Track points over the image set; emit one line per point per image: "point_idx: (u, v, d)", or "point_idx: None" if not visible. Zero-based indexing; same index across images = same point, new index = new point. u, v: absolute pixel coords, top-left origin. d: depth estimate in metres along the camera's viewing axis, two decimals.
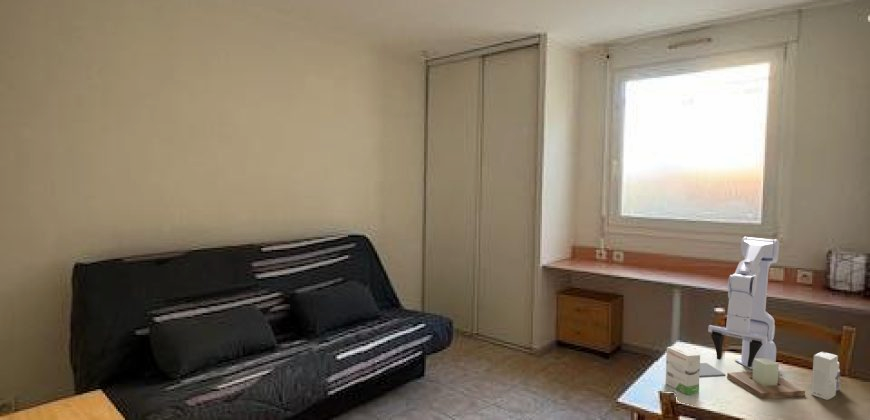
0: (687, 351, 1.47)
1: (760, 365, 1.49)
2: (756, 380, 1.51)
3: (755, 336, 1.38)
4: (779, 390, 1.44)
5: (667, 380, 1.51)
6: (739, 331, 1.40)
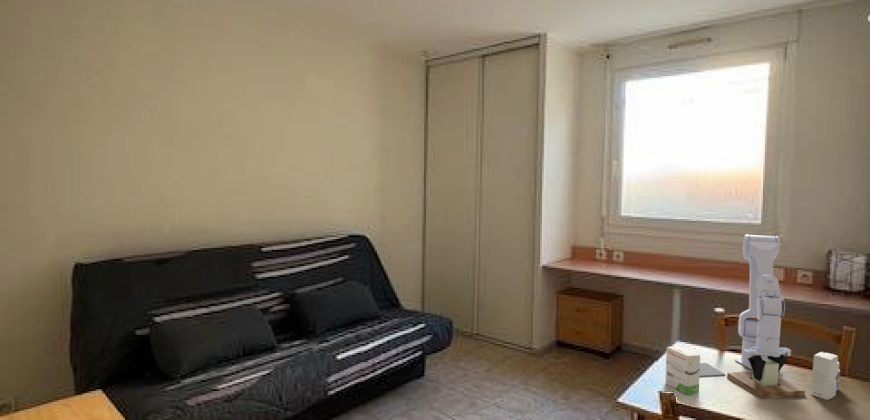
0: (687, 351, 1.47)
1: None
2: (756, 380, 1.51)
3: (785, 351, 1.49)
4: (779, 390, 1.44)
5: (667, 380, 1.51)
6: (777, 351, 1.47)
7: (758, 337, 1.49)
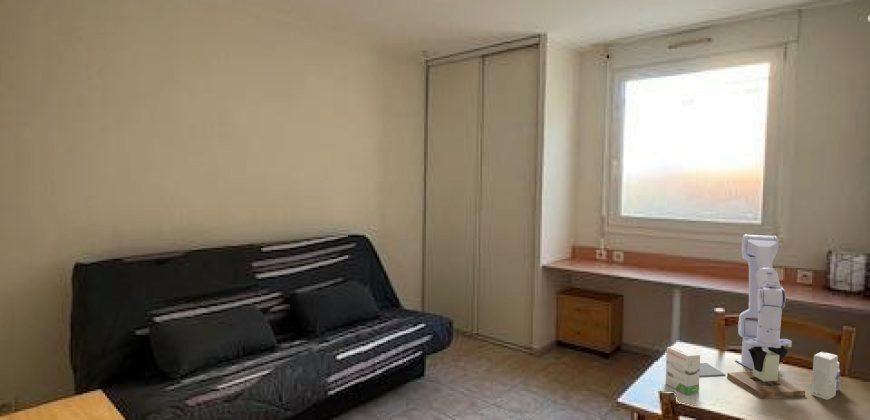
0: (687, 351, 1.47)
1: None
2: (757, 371, 1.51)
3: (785, 343, 1.48)
4: (779, 390, 1.44)
5: (667, 380, 1.51)
6: (777, 343, 1.47)
7: (759, 328, 1.49)
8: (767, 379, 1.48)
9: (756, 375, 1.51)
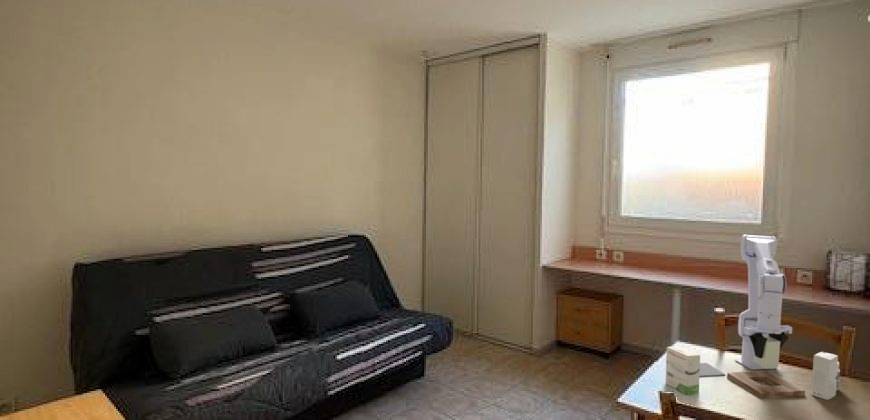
0: (687, 351, 1.47)
1: None
2: (757, 358, 1.50)
3: (786, 329, 1.48)
4: (779, 390, 1.44)
5: (667, 380, 1.51)
6: (778, 329, 1.46)
7: (759, 314, 1.49)
8: (768, 365, 1.48)
9: (757, 362, 1.50)
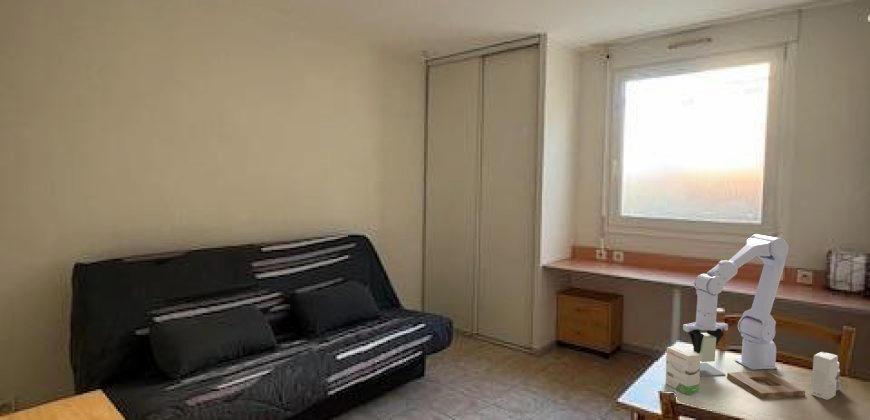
0: (687, 351, 1.47)
1: None
2: (696, 353, 1.62)
3: (722, 326, 1.60)
4: (779, 390, 1.44)
5: (667, 380, 1.51)
6: (714, 326, 1.58)
7: (697, 313, 1.60)
8: (705, 360, 1.59)
9: None
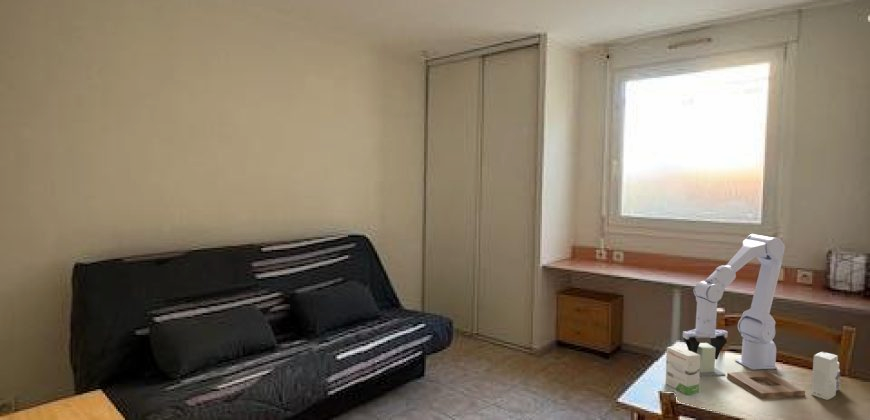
0: (687, 351, 1.47)
1: (698, 349, 1.61)
2: None
3: (721, 333, 1.60)
4: (779, 390, 1.44)
5: (667, 380, 1.51)
6: (713, 333, 1.58)
7: (697, 320, 1.60)
8: (704, 370, 1.60)
9: None
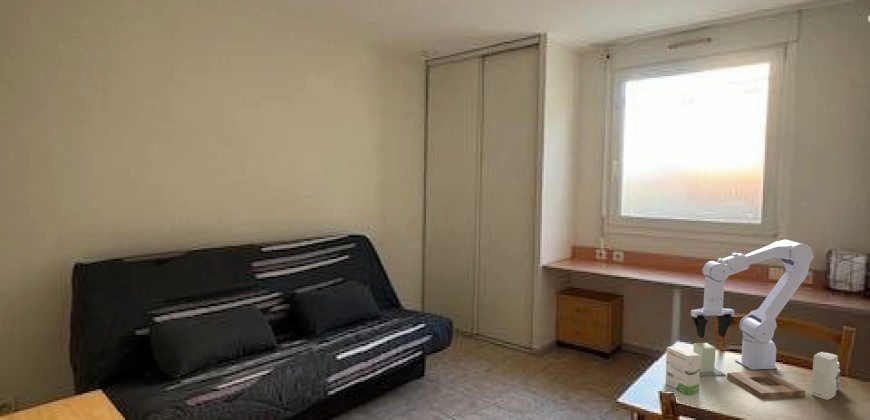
0: (687, 351, 1.47)
1: (698, 349, 1.61)
2: None
3: (728, 311, 1.65)
4: (779, 390, 1.44)
5: (667, 380, 1.51)
6: (721, 311, 1.63)
7: (704, 299, 1.66)
8: (704, 370, 1.60)
9: None
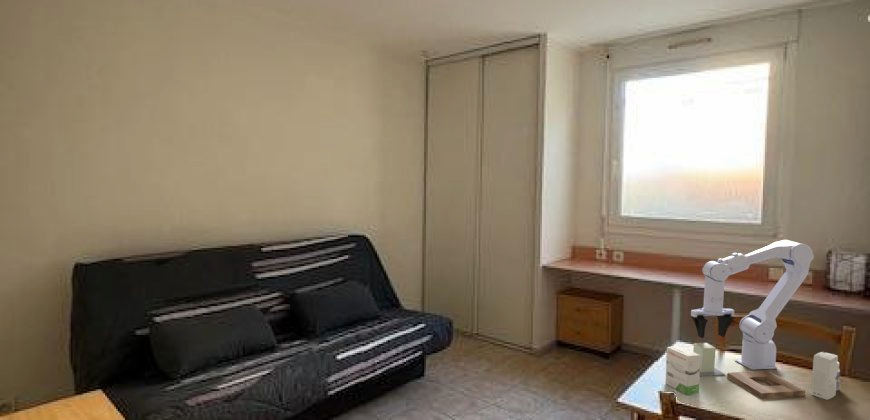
0: (688, 351, 1.47)
1: (698, 349, 1.61)
2: None
3: (728, 311, 1.65)
4: (779, 390, 1.44)
5: (667, 380, 1.51)
6: (721, 311, 1.63)
7: (704, 298, 1.66)
8: (704, 370, 1.60)
9: None
